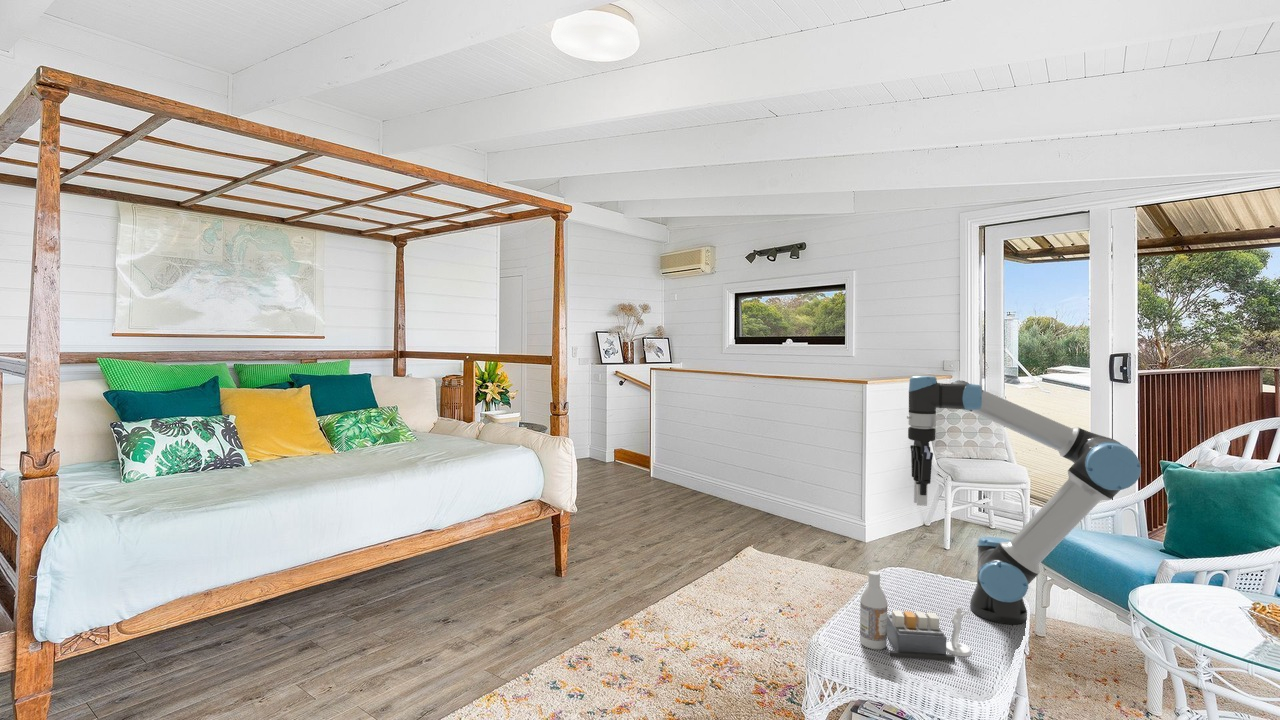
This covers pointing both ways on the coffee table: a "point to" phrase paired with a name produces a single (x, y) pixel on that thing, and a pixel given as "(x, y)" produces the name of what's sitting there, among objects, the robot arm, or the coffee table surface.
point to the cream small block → (898, 618)
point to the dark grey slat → (922, 656)
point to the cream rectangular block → (932, 620)
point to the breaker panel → (916, 639)
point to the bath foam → (873, 614)
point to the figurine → (954, 645)
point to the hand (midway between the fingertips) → (920, 503)
